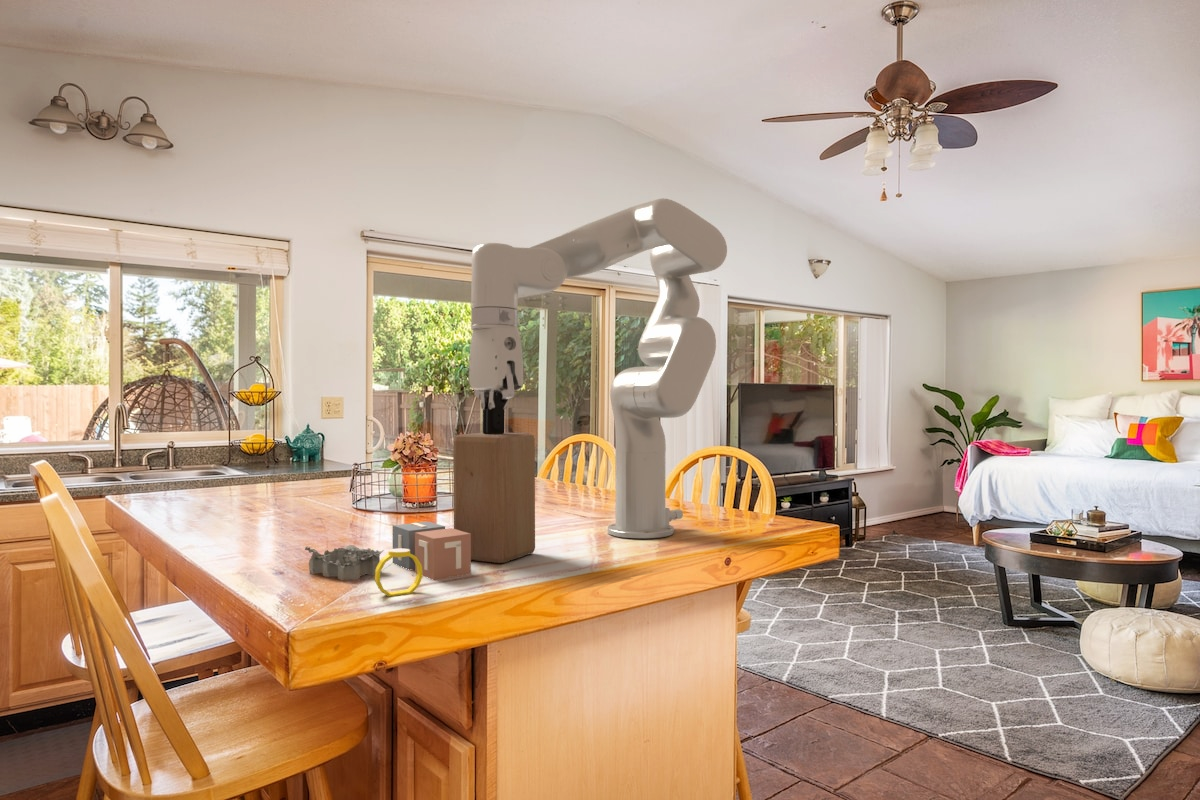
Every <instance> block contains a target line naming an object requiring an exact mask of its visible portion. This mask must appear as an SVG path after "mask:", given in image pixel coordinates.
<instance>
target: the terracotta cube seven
mask: <svg viewBox="0 0 1200 800" xmlns="http://www.w3.org/2000/svg"><path fill="white" fill-rule="evenodd" d="M415 556H416V557H417V559H418V560H419V562H420V563H421V566H422V573H423V575H422V577H425V578H427V577H428V578H427V579H430V580H432V579H433V580H432V581H437V580H438V581H439V580H442V579H449V578H455V577H461V576H466V574H467V575H471V574H472V563H471V562H472V560H471V534H470V533H467V532H463V531H460V530H456V529H454V527H453V528H452V527H450V528H445V529H440V530H432V531H424V532H416V533H415ZM415 572H416V573H415ZM414 573H415V574H417V566H416V563H415V569H414ZM436 579H437V580H436Z"/></svg>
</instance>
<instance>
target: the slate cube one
mask: <svg viewBox="0 0 1200 800" xmlns="http://www.w3.org/2000/svg"><path fill="white" fill-rule="evenodd" d="M440 529H446V526H444V525H442V524H437V523H435V522H432V521H421V522H412V523H411V522H410V523H401V524H392V549H397V548H404V549H409V550H410V554H412V555H414V556H415V533H416V532H424V531H432V530H440ZM393 563H394V565H396V564H397V565H396V566H398V565H399V566H398V567H401V566H402V567H401V568H403V567H404V569H405V568H407V569H406V570H408V569H409V571H411V570H410V569H413V570H415V562H414V560H413V559H412V558H411V557H409V556H406V557H392V564H393Z"/></svg>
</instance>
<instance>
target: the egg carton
mask: <svg viewBox="0 0 1200 800" xmlns="http://www.w3.org/2000/svg"><path fill="white" fill-rule="evenodd" d="M304 550H305V551H308V553H312V554H311V556H310V559H308V568H309V569H308V571H309V574H311V575H316V574H322V576H323V577H327V578H329V577H331V578H332V577H337V579H338V580H339V579H341V580H340V581H345V580H344V579H347V580H353V579H355V580H358V578H359V579H360V578H361V576H366V575H365V574H372V575H374V574H375V570H376V567H377V565H378V563H379V562H380V560H381V559H380V558H381V557H380V556H381V554H382V553H383V552H384V551H385V549H383V550H380V551H379V550H378V549H376V550H374V549H371V548H367V549H365V548H358V547H357V546H355V544H354V545H353V544H352V545H350V544H349V545H347V546H343V547H338V548H335V547H334V549H333V550H332V551H329V549H325V551H324V554H321V553H320V552H318V551H317V550H316V549H314V548H311V547H309V546H305V549H304ZM360 575H361V576H360ZM372 575H371V576H372ZM374 576H375V575H374Z"/></svg>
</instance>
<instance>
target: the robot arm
mask: <svg viewBox="0 0 1200 800" xmlns="http://www.w3.org/2000/svg"><path fill="white" fill-rule="evenodd" d="M648 250H650V254H649V255H650V256H649V258H650V259H649V261H650V265H651V269H652V271H653V273H654V276H655V279H656V282H657V287H658V295H657V296H658V297H657V301H656V302H655V305H654V308H653V310H652V312H651V315H650V317H649V318H648V321H647V323H646V325H645V328H644V330H643V332H642V333H641V336H640V339H639V341H638V347H637V352H638V356H639V359H640V360H641V362H643V364H645V365H646V366H634V367H628V368H626V369H622V370H621V371H620V372H619V373H617V374H616V376H615V377H614V379H613V381H612V383H611V384H610V390H609V391H610V392H609V394H610V395H609V396H610V397H609V398H610V404H611V409H612V413H613V420H614V421H613V422H614V433H615V435H614V436H615V456H614V457H615V460H614V461H615V471H614V472H615V479H614V481H615V523H612V524H609V525H607V529H606V530H607V533H608V534H609V535H611V536H614V537H617V538H625V539H658V538H665V537H666V538H667V537H669V536H671V535H673V534H674V532H675V530H674V529H675V528H674V526H673V525H671V524H670V522H672V520H673V521H675V520H681V519H682V518H683V517H684V513H683V510H682V509H680V508H679V509H678V508H677V509H672V510H670V508H669V507H666V448H667V445H666V436H665V432H664V429H663V426H662V423H661V422H660V421H661V420H660V418H664V419H665V418H666V419H669V418H670V419H672V418H673V419H675V418H679V417H682V416H684V415H686V414H687V413H688V412H689V411H690V410H691V409H692V408H693V406H694V405H695V403H696V401H697V399H698V397H699V395H700V392H701V389H702V387H703V385H704V382H705V380H706V378H707V377H708V373H709V370H710V369H711V366H712V364H713V361H714V358H715V355H716V348H717V338H716V334H715V333H716V332H715V330H714V328H713V326H712V324H711V323H709V321H707V320H706V319H704V318H703V317H700V316H698V315H699V311H700V306H701V305H700V304H701V303H700V302H701V301H700V299H699V294H698V292H697V290H696V288H695V286H694V283H693V281H692V279H691V276H692V275H696V274H702V273H709V272H712V271H715V270H717V269H718V268H720V267H721V266H722V265H723V263H724V262H725V261H726V258H727V256H728V255H727V254H728V246H727V242H726V238H725V237H724V235H723V233H722V232H721V231H720V230H719V229H718V228H717V227H716V226H714V225H713V224H712V223H711V222H709V221H708V220H706V219H704V218H703V217H701V216H700V215H698V214H697V213H695V212H694V211H693V210H691V209H689V208H688V207H687V206H685V205H683V204H681V203H679V202H677V201H675V200H672V199H668V198H658V199H653V200H650V201H648V202H644V203H640V204H637V205H633V206H631V207H628V208H624V209H622V210H620V211H617V212H615V213H612V214H610V215H607V216H605V217H602V218H600V219H599V218H598V219H596V220H595V221H592V222H589V223H586V224H583V225H581V226H579V227H576V228H574V229H572V230H569V231H567V232H565V233H563V234H561V235H557V236H556V237H553V238H551V239H548V240H546V241H544V242H540V243H538V244H536V245H535V244H534V245H533V246H529V247H515V246H512V245H510V244H505V243H500V242H486V243H481V244H478V245H475V247H474V248H473V249H472V252H471V289H470V291H471V292H470V293H471V295H470V296H471V297H470V298H471V299H470V301H471V303H470V304H471V306H470V307H471V310H470V312H471V313H470V314H471V315H470V316H471V317H470V318H471V319H470V322H471V324H470V329H471V330H472V334H471V338H470V339H471V340H470V348H469V361H468V362H469V364H468V365H469V366H468V380H469V381H468V382H469V386H470V388H472V389H473V390H474V393H473V394H474V395H473V396H474V397H475V398H477V399H479V400H480V409H482V433H484V434H504V433H506V431H505V428H506V425H505V420H506V419H505V418H506V417H505V416H506V415H505V413H506V411H505V410H506V409H507V406H508V400H510V399H512V398H514V397H515V395H516V394H515V391H519V390H521V389H522V388H523V385H524V362H523V360H524V359H523V347H522V346H523V345H522V339H521V334H520V329H519V328H518V327H519V325H518V324H519V311H518V310H519V299H520V298H525V297H530V296H537V295H538V296H539V295H543V294H548V293H552V292H554V291H555V290H557V289H559V288H560V287H561V286H562V285H563V283H565V280H567V279H570V278H575V277H581V276H586V275H589V274H593V273H597V272H599V271H602V270H604V269H607V268H609V267H611V266H613V265H615V264H618V263H621V262H622V261H625V260H626V259H628V258H631V257H634V256H636V255H638V254H640V253H643V252H645V251H648Z"/></svg>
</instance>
